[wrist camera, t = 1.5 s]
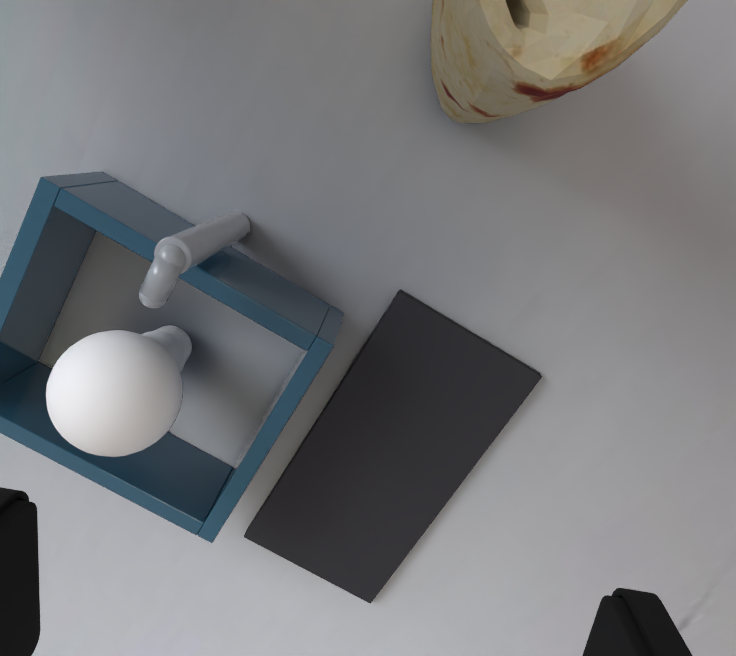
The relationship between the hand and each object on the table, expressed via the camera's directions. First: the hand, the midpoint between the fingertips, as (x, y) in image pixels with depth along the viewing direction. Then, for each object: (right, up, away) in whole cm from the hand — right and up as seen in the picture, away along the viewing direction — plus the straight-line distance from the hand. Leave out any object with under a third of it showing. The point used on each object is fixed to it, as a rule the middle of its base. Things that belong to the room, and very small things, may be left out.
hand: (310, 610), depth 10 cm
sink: (-10, +5, +26) cm, 29 cm away
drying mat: (+2, -4, +28) cm, 29 cm away
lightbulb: (-11, +4, +27) cm, 29 cm away
